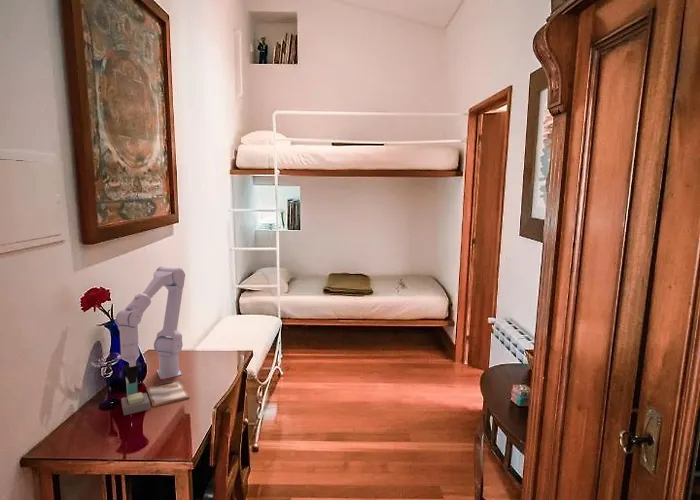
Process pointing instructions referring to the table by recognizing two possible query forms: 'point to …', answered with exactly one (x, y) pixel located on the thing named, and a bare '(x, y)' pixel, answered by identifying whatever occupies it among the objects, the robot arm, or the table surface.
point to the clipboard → (166, 393)
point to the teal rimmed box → (131, 387)
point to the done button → (135, 398)
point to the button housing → (135, 405)
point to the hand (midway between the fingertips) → (131, 379)
